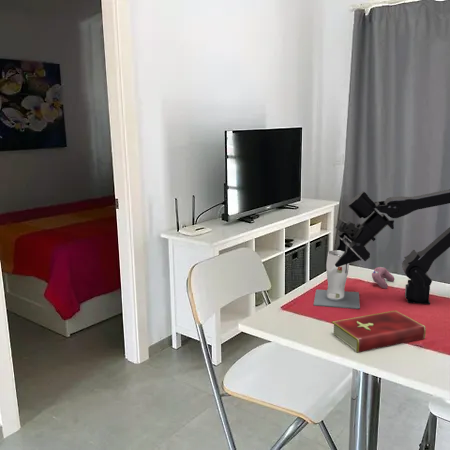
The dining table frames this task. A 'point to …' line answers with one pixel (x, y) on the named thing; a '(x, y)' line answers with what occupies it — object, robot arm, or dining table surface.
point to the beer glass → (336, 276)
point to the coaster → (348, 302)
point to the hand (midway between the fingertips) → (333, 263)
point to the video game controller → (382, 276)
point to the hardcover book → (378, 330)
